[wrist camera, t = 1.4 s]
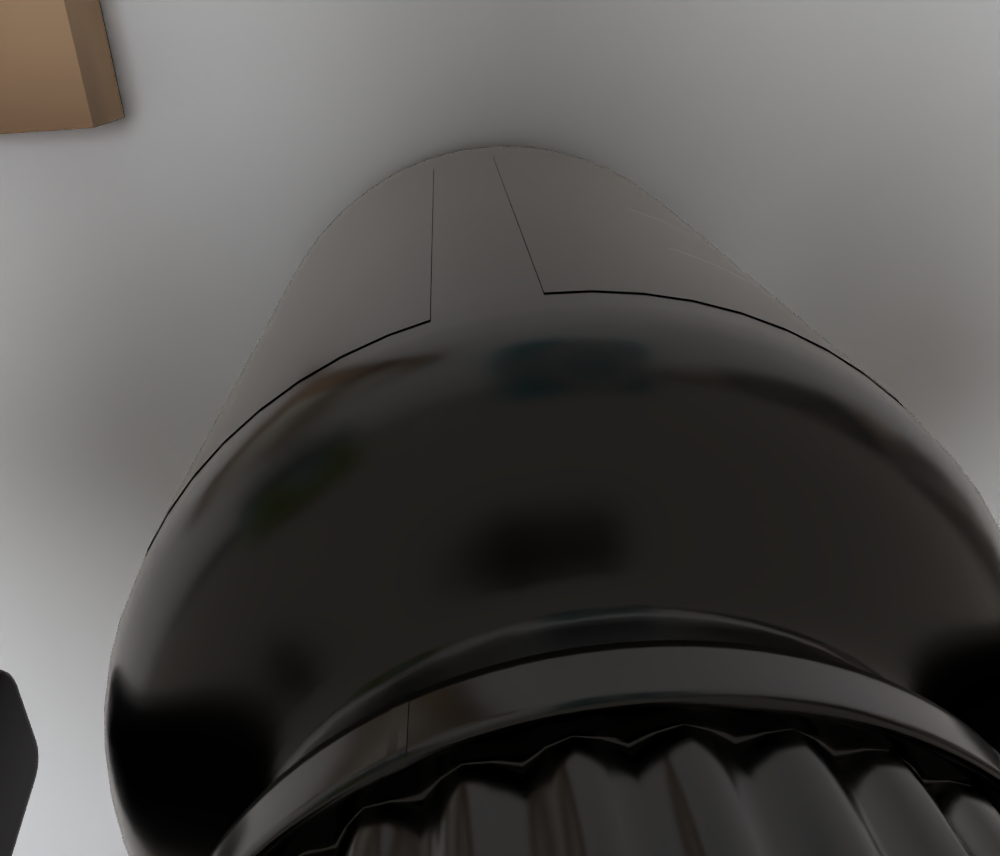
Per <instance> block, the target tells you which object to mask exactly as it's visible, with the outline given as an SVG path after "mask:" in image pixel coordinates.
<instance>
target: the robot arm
mask: <svg viewBox="0 0 1000 856" xmlns="http://www.w3.org/2000/svg"><path fill="white" fill-rule="evenodd" d="M37 768H38V747H37V743H36V739H35V736H34V733H33V730H32V728H31V725H30V722H29V719H28V716H27V713H26V710H25V707H24V704H23V702H22V699H21V696H20V693H19V690H18V687H17V685H16V682H15V680H14V679H13V677H12V676H11V675H10V674H9V673H7V672H5V671H3V670H0V856H12V853H13V850H14V847H15V844H16V840H17V837H18V834H19V830H20V827H21V824H22V821H23V817H24V814H25V811H26V807H27V804H28V801H29V798H30V794H31V791H32V788H33V784H34V781H35V778H36V774H37Z"/></svg>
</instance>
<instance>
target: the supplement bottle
mask: <svg viewBox="0 0 1000 856" xmlns="http://www.w3.org/2000/svg"><path fill="white" fill-rule="evenodd" d="M104 725H105V753H106V761H107V768H108V776H109V783H110V790H111V796H112V800H113V804H114V809H115V812H116V816H117V819H118V823H119V827H120V830H121V834H122V838H123V841H124V844H125V847H126V850H127V852H128V855H129V856H1000V529H999V527H998V525H997V524H996V522H995V520H994V518H993V516H992V515H991V513H990V511H989V509H988V507H987V506H986V504H985V502H984V500H983V498H982V497H981V495H980V493H979V492H978V490H977V489H976V488H975V486H974V485H973V483H972V482H971V481H970V479H969V478H968V477H967V475H966V474H965V473H964V471H963V470H962V469H961V467H960V466H959V465H958V463H957V462H956V461H955V459H954V458H953V457H952V456H951V455H950V454H949V453H948V452H947V451H946V450H945V449H944V448H943V447H942V445H941V444H940V443H939V442H938V441H937V440H936V439H935V438H934V437H933V436H932V435H931V434H930V433H929V432H928V431H927V430H926V429H925V428H924V427H923V426H922V425H921V424H920V423H919V421H918V420H917V419H916V418H915V417H914V416H913V415H912V414H911V413H909V412H908V411H907V410H906V409H905V408H904V407H903V406H902V404H901V403H900V402H899V401H898V400H897V399H896V398H894V397H893V396H892V395H891V394H890V393H889V392H888V391H886V390H885V389H884V388H883V387H882V386H881V385H879V384H878V383H877V382H876V381H875V380H873V379H872V378H871V377H870V376H869V375H867V374H866V373H865V372H864V371H863V370H861V369H860V368H859V367H858V366H857V365H855V364H854V363H853V362H852V361H851V360H850V359H848V358H847V357H846V356H845V355H844V354H842V353H841V352H840V351H839V350H838V349H836V348H835V347H834V346H833V345H832V344H830V343H829V342H828V341H827V340H826V339H824V338H823V337H822V336H821V335H820V334H818V333H817V332H816V331H815V330H814V329H812V328H811V327H810V326H809V325H808V324H806V323H805V322H804V321H803V320H802V319H800V318H799V317H798V316H797V315H796V314H794V313H793V312H792V311H791V310H790V309H788V308H787V307H786V306H785V305H784V304H782V303H781V302H780V301H779V300H778V299H776V298H775V297H774V296H773V295H772V294H770V293H769V292H768V291H767V290H766V289H764V288H763V287H762V286H761V285H760V284H758V283H757V282H756V281H755V280H754V279H752V278H751V277H750V276H749V275H748V274H746V273H745V272H744V271H743V270H742V269H740V268H739V267H738V266H737V265H736V264H734V263H733V262H732V261H731V260H730V259H728V258H727V257H726V256H725V255H724V254H722V253H721V252H720V251H719V250H718V249H716V248H715V247H714V246H713V245H712V244H710V243H709V242H708V241H707V240H706V239H704V238H703V237H702V236H701V235H700V234H698V233H697V232H696V231H695V230H694V229H692V228H691V227H690V226H689V225H688V224H686V223H685V222H684V221H683V220H682V219H680V218H679V217H678V216H677V215H676V214H674V213H673V212H672V211H671V210H669V209H668V208H667V207H666V206H665V205H663V204H662V203H661V202H660V201H658V200H657V199H655V198H654V197H652V196H651V195H650V194H648V193H647V192H646V191H644V190H643V189H641V188H640V187H638V186H636V185H635V184H633V183H632V182H630V181H629V180H627V179H626V178H624V177H622V176H620V175H618V174H616V173H614V172H612V171H610V170H608V169H606V168H604V167H602V166H599V165H597V164H594V163H591V162H589V161H586V160H584V159H581V158H578V157H574V156H570V155H567V154H563V153H559V152H555V151H549V150H543V149H537V148H527V147H511V146H505V147H483V148H476V149H470V150H463V151H458V152H454V153H450V154H446V155H442V156H438V157H435V158H432V159H429V160H426V161H424V162H421V163H418V164H415V165H413V166H411V167H409V168H407V169H404V170H402V171H400V172H398V173H396V174H394V175H392V176H390V177H389V178H387V179H386V180H384V181H382V182H381V183H379V184H377V185H376V186H374V187H373V188H371V189H370V190H368V191H367V192H366V193H365V194H363V195H362V196H361V197H359V198H358V199H357V200H355V201H354V202H353V203H352V204H351V205H349V206H348V207H347V208H346V209H345V210H344V211H343V212H342V213H341V214H340V215H339V216H338V217H337V218H336V219H335V220H334V221H333V222H332V223H331V224H330V225H329V226H328V227H327V229H326V230H325V231H324V232H323V233H322V234H321V236H320V237H319V238H318V239H317V241H316V242H315V243H314V245H313V246H312V248H311V249H310V251H309V252H308V254H307V255H306V257H305V258H304V260H303V261H302V263H301V264H300V266H299V268H298V269H297V271H296V272H295V274H294V276H293V278H292V279H291V281H290V283H289V285H288V287H287V289H286V290H285V292H284V294H283V296H282V298H281V300H280V302H279V303H278V305H277V307H276V309H275V311H274V313H273V315H272V316H271V318H270V320H269V322H268V324H267V326H266V328H265V330H264V331H263V333H262V335H261V337H260V339H259V341H258V343H257V345H256V346H255V348H254V350H253V352H252V354H251V356H250V358H249V359H248V361H247V363H246V365H245V367H244V369H243V371H242V373H241V374H240V376H239V378H238V380H237V382H236V384H235V386H234V388H233V389H232V391H231V393H230V395H229V397H228V399H227V401H226V402H225V404H224V406H223V408H222V410H221V412H220V414H219V416H218V417H217V419H216V421H215V423H214V425H213V427H212V429H211V431H210V432H209V434H208V436H207V438H206V440H205V442H204V444H203V445H202V447H201V449H200V451H199V453H198V455H197V457H196V459H195V460H194V462H193V464H192V466H191V468H190V470H189V472H188V474H187V475H186V477H185V479H184V481H183V483H182V485H181V487H180V489H179V490H178V492H177V494H176V496H175V498H174V500H173V502H172V504H171V505H170V507H169V509H168V511H167V513H166V515H165V517H164V519H163V520H162V522H161V524H160V526H159V528H158V530H157V532H156V534H155V536H154V538H153V540H152V542H151V544H150V546H149V548H148V550H147V553H146V555H145V558H144V560H143V563H142V565H141V568H140V570H139V573H138V575H137V578H136V580H135V583H134V585H133V588H132V590H131V593H130V595H129V598H128V601H127V603H126V606H125V608H124V611H123V613H122V616H121V619H120V622H119V626H118V630H117V634H116V638H115V642H114V645H113V649H112V653H111V657H110V664H109V672H108V680H107V689H106V697H105V707H104Z"/></svg>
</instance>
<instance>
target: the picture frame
mask: <svg viewBox="0 0 1000 856" xmlns="http://www.w3.org/2000/svg"><path fill="white" fill-rule="evenodd" d="M121 118H124V113H123V109H122V104H121V99H120V95H119V90H118V86H117V81H116V76H115V72H114V67H113V63H112V58H111V54H110V49H109V44H108V40H107V35H106V31H105V26H104V21H103V17H102V12H101V8H100V3H99V0H0V134H9V133H23V132H38V131H52V130H67V129H82V128H94V127H97V126H100V125H103V124H106V123H109V122H112V121H115V120H118V119H121Z"/></svg>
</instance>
